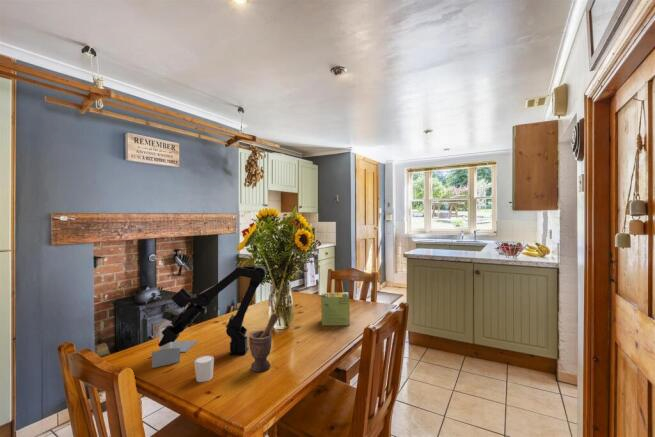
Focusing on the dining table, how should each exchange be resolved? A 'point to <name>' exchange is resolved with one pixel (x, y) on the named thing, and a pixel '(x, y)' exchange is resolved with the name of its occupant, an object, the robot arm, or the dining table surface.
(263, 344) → the mortar and pestle
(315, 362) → the dining table surface
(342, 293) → the protein box
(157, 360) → the screen
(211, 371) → the shot glass
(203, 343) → the dining table surface
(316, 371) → the dining table surface
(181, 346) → the slate mat
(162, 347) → the white rounded cylinder
